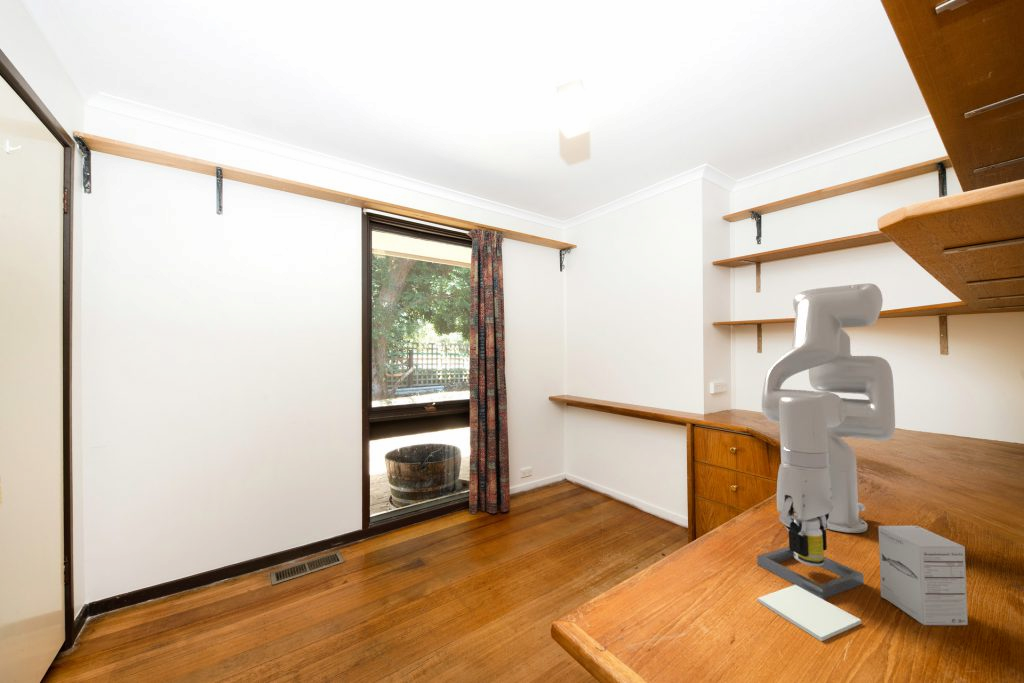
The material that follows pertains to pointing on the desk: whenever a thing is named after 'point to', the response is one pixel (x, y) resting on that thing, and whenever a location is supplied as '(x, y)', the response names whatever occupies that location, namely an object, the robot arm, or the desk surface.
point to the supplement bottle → (812, 544)
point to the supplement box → (923, 575)
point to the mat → (809, 612)
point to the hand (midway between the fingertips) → (808, 549)
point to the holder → (821, 591)
